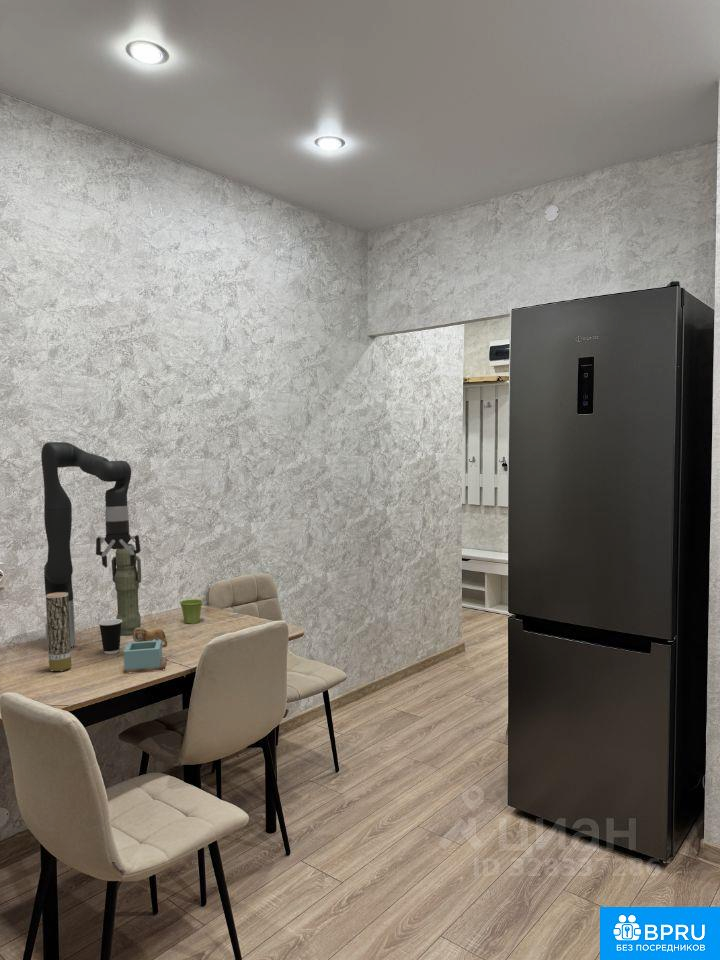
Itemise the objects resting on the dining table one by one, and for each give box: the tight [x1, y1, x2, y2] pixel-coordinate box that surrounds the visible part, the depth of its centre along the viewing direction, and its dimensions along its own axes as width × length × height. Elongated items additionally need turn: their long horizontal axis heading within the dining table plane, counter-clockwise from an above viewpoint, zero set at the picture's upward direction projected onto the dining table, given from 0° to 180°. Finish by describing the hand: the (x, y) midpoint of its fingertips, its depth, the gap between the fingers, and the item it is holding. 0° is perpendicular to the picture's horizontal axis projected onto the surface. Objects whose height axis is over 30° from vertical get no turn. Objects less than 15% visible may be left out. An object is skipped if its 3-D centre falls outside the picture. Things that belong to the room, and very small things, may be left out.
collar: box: [123, 639, 163, 671], centre depth 233 cm, size 11×11×6 cm
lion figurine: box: [131, 627, 168, 647], centre depth 254 cm, size 15×5×9 cm, turn 146°
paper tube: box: [45, 592, 72, 672], centre depth 232 cm, size 7×7×25 cm
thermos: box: [111, 543, 142, 637], centre depth 276 cm, size 9×12×35 cm
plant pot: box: [179, 598, 204, 624], centre depth 291 cm, size 9×9×9 cm
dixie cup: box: [98, 618, 122, 655], centre depth 251 cm, size 8×8×11 cm
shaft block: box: [125, 656, 168, 674], centre depth 233 cm, size 12×12×4 cm
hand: (119, 566), depth 240 cm, fingers open, 8 cm apart
